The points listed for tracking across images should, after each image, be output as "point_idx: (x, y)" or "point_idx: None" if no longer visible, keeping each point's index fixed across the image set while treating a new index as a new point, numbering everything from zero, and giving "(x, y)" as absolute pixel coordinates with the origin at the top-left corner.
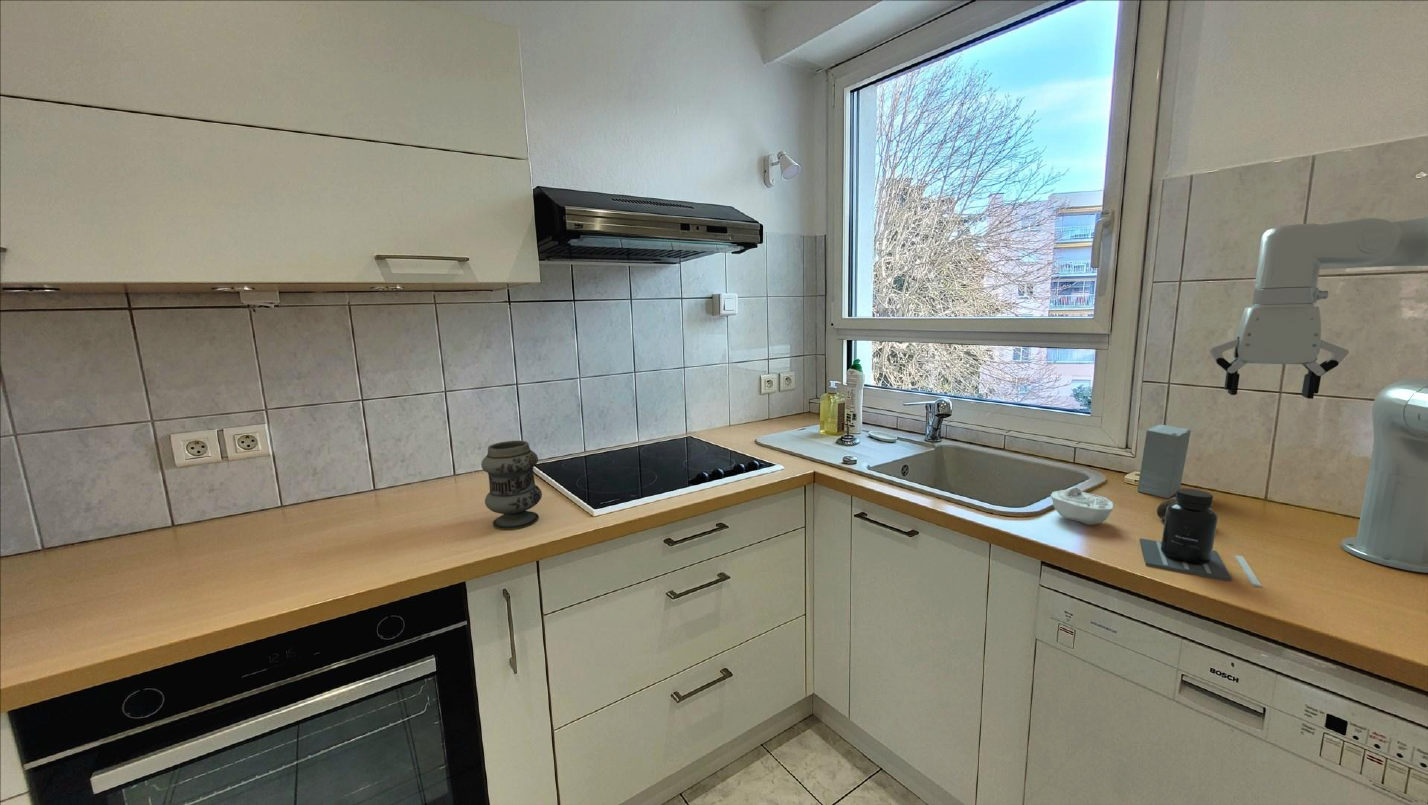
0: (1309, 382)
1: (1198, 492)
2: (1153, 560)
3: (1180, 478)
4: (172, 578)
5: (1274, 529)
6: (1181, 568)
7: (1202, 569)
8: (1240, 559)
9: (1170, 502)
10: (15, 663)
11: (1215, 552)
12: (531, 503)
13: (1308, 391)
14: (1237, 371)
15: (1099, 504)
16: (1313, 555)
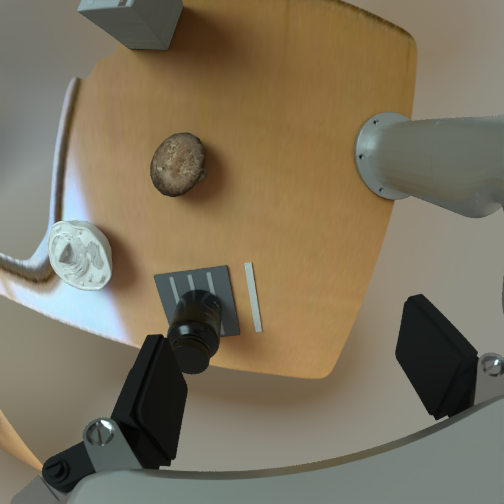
0: (421, 396)
1: (192, 358)
2: None
3: (176, 5)
4: (13, 450)
5: (293, 112)
6: None
7: None
8: (248, 274)
9: (160, 188)
10: None
11: (225, 272)
12: None
13: (405, 373)
14: (159, 463)
15: (95, 266)
16: (321, 199)
